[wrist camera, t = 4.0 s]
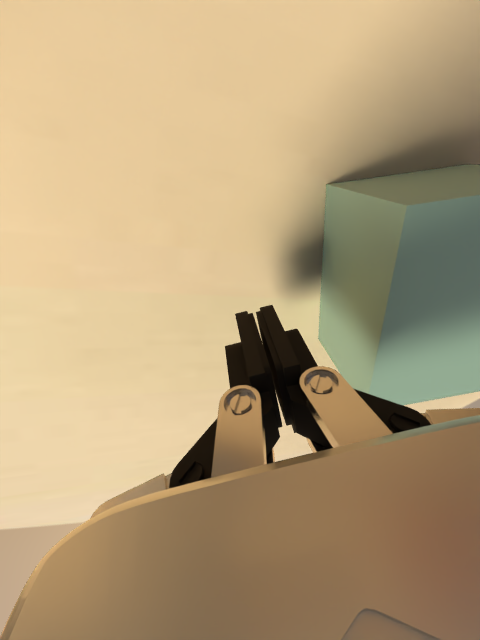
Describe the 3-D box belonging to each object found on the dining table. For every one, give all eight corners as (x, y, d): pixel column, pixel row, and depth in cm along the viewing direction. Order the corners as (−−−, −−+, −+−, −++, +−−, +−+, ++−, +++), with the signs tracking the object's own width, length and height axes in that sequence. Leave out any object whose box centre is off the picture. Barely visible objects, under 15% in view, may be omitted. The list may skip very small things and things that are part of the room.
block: (325, 184, 13) (407, 205, 8) (466, 163, 13) (632, 172, 8) (317, 337, 18) (364, 412, 13) (420, 320, 18) (507, 386, 13)
